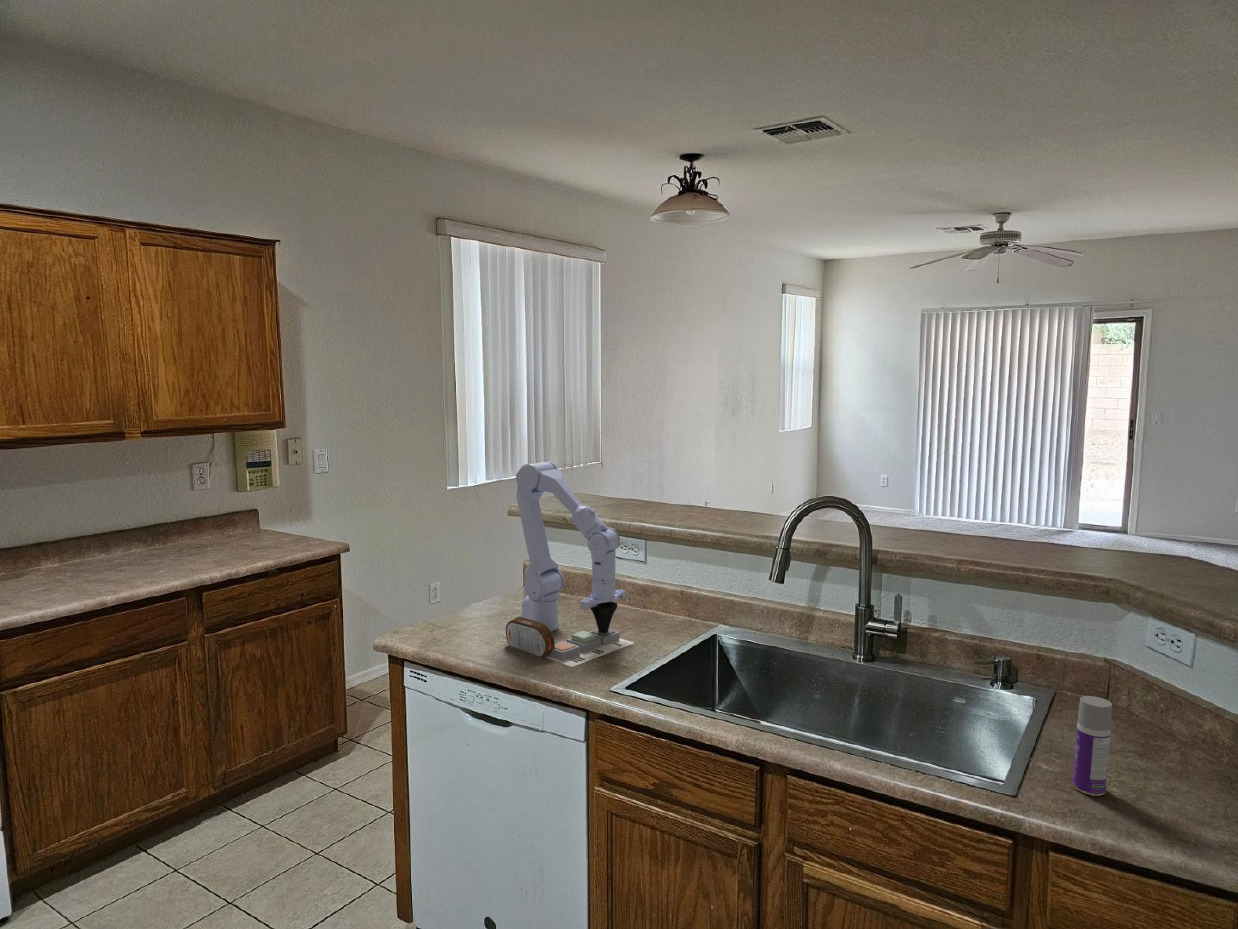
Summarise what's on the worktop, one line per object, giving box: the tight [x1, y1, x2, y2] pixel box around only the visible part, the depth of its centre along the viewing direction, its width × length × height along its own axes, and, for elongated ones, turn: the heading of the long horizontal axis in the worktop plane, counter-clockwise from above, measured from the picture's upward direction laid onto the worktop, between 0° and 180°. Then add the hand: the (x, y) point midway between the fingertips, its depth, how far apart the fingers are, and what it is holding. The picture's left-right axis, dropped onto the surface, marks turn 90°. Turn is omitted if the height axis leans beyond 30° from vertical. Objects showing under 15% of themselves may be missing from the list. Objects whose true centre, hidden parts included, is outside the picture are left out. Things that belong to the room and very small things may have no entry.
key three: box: [554, 641, 575, 651], centre depth 184 cm, size 4×4×2 cm
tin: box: [505, 616, 556, 659], centre depth 186 cm, size 15×3×8 cm, turn 48°
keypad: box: [544, 628, 635, 668], centre depth 188 cm, size 12×22×3 cm, turn 139°
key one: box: [591, 629, 615, 637], centre depth 194 cm, size 4×4×2 cm
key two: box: [571, 630, 595, 644], centre depth 189 cm, size 4×4×2 cm
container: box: [1072, 695, 1113, 794], centre depth 127 cm, size 5×5×15 cm
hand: (603, 631), depth 194 cm, fingers closed, pressing on key one
